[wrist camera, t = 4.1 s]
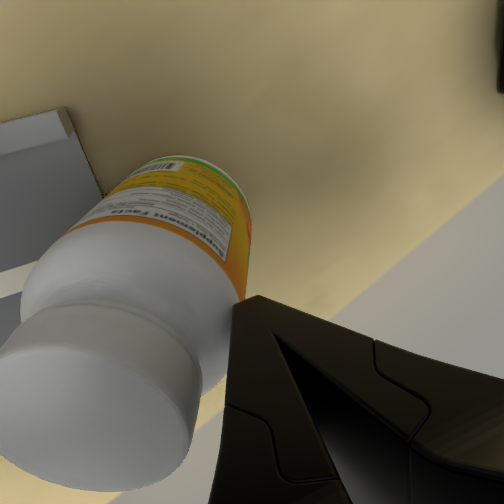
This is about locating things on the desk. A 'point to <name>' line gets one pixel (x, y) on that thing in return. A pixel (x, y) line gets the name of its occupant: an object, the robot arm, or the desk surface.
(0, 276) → the tray
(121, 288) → the supplement bottle
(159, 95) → the desk surface
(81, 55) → the desk surface
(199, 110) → the desk surface
